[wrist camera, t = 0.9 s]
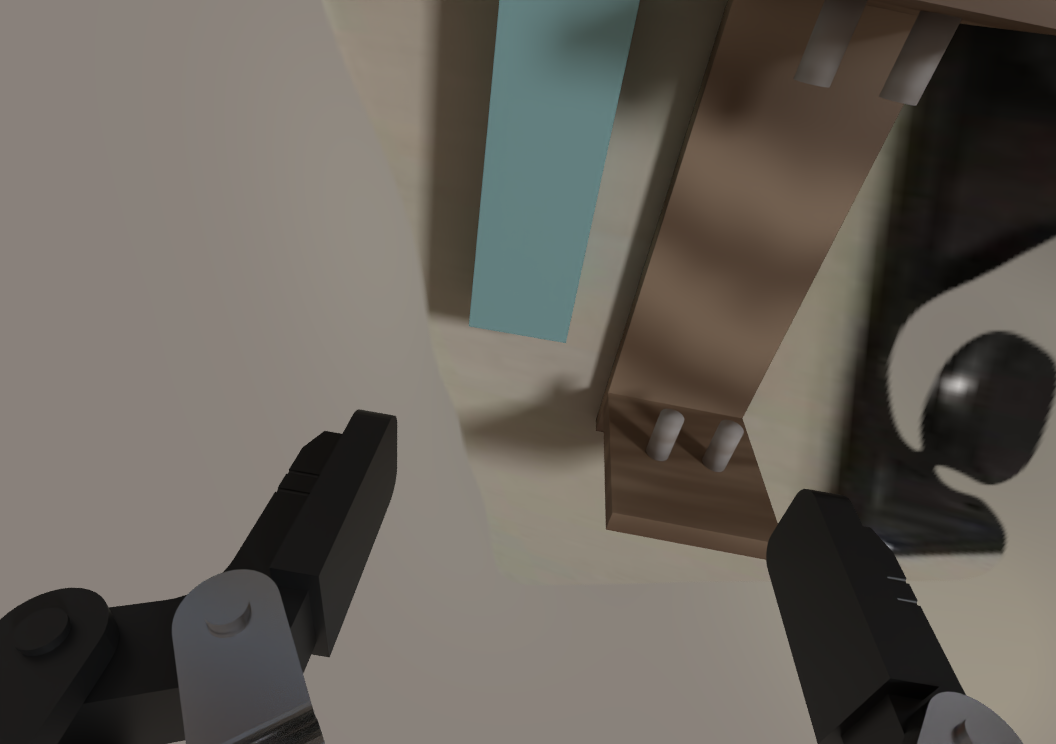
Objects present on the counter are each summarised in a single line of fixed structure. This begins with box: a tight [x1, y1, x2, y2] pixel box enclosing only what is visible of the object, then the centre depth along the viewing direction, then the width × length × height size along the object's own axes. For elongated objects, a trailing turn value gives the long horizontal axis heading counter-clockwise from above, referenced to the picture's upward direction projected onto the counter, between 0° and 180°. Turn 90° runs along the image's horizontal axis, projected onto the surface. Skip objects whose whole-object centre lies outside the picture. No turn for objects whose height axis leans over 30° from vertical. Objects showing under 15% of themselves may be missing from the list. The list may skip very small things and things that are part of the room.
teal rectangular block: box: [469, 0, 640, 343], centre depth 25 cm, size 18×5×4 cm, turn 172°
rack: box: [596, 0, 1056, 560], centre depth 24 cm, size 26×8×10 cm, turn 170°
